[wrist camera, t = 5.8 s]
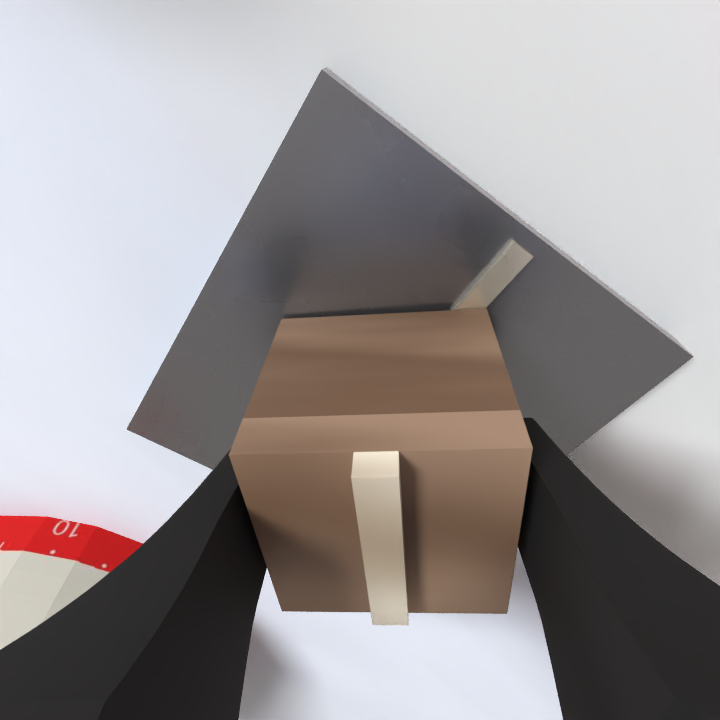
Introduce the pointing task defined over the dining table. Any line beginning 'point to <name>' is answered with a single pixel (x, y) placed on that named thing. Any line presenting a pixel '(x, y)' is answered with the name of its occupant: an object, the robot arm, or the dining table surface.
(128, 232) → the dining table surface
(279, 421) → the taped cardboard box
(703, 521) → the dining table surface
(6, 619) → the kitchen timer
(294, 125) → the hub plate
